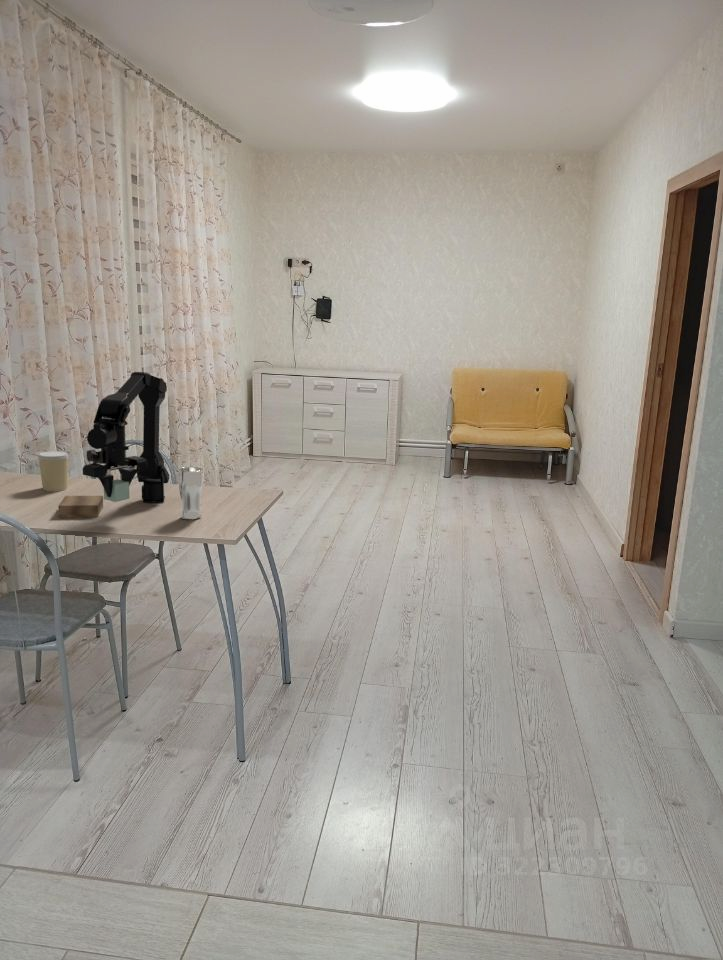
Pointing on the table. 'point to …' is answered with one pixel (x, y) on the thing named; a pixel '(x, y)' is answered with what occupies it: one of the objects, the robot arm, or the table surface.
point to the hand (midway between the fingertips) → (116, 495)
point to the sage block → (118, 491)
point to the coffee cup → (54, 470)
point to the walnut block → (81, 506)
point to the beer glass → (190, 491)
